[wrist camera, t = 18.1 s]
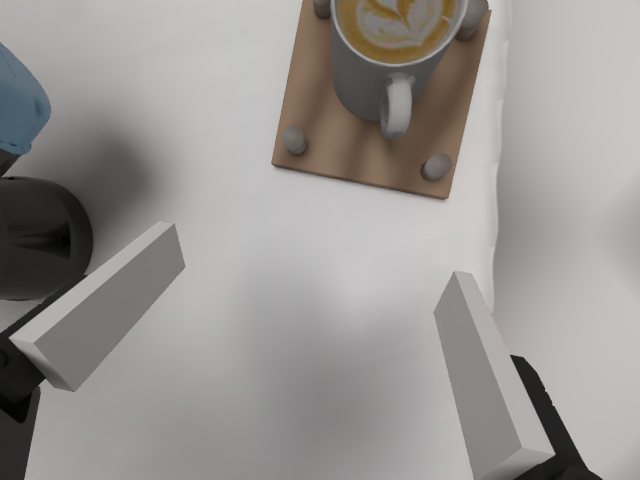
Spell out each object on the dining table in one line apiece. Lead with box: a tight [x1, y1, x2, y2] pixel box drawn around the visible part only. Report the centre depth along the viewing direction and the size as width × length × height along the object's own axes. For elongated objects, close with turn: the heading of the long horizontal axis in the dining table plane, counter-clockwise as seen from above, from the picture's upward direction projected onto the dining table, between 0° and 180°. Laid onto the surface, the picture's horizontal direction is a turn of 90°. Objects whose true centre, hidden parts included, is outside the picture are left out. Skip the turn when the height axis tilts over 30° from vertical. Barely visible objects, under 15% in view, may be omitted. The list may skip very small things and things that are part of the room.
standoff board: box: [271, 0, 492, 199], centre depth 29 cm, size 20×20×4 cm
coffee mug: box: [330, 0, 469, 140], centre depth 25 cm, size 13×10×10 cm
